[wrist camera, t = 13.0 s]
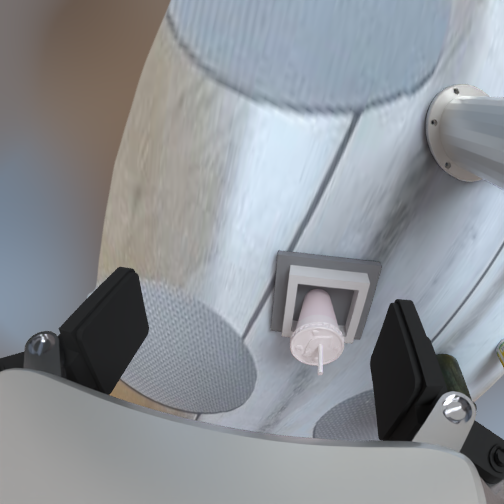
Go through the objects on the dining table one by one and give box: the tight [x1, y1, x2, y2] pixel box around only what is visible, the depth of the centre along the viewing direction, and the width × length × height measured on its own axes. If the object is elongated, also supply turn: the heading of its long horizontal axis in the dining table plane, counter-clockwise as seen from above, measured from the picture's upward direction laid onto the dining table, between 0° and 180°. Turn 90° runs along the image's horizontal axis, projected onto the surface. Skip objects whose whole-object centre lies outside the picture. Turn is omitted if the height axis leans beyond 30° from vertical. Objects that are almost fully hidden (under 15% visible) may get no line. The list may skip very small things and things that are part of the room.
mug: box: [436, 354, 476, 408], centre depth 41 cm, size 11×15×12 cm
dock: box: [271, 251, 382, 344], centre depth 41 cm, size 14×13×4 cm
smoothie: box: [290, 289, 344, 375], centre depth 36 cm, size 6×6×14 cm
